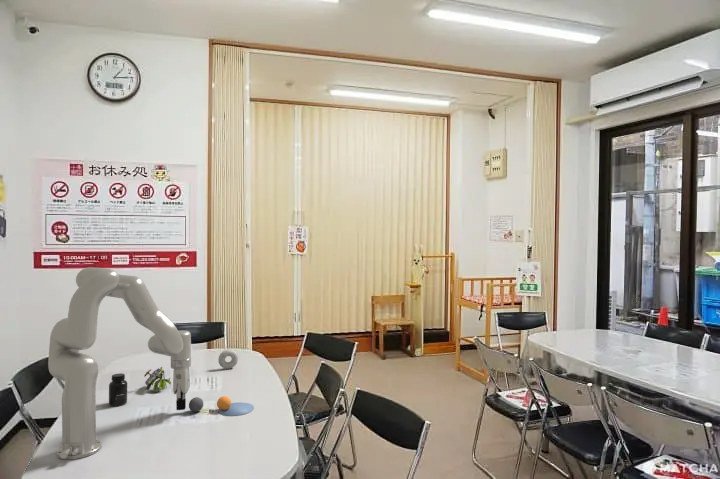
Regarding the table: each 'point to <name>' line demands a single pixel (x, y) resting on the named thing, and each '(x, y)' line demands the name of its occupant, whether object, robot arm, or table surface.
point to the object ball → (224, 403)
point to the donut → (232, 363)
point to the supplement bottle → (118, 390)
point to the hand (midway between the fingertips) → (181, 409)
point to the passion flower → (155, 376)
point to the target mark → (237, 409)
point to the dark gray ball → (196, 404)
